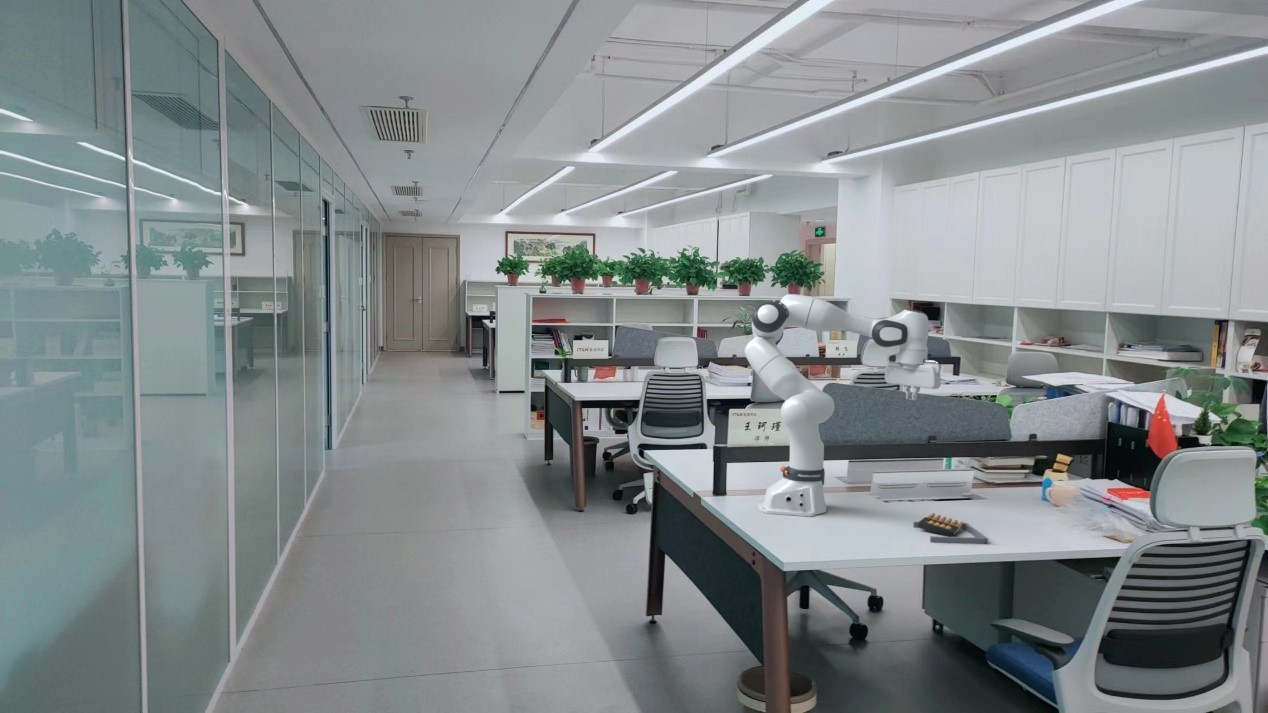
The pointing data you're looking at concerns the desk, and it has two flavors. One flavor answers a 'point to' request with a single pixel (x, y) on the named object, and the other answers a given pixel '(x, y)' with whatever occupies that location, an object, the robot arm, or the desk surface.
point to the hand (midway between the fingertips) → (911, 399)
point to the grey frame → (976, 539)
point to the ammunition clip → (940, 525)
